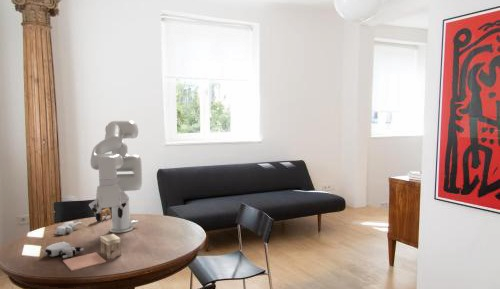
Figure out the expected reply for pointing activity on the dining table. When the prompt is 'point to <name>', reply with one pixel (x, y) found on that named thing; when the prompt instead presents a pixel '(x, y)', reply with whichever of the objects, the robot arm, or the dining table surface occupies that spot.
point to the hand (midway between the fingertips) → (109, 219)
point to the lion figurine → (104, 213)
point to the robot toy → (62, 250)
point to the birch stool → (109, 241)
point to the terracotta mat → (84, 261)
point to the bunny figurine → (66, 227)
